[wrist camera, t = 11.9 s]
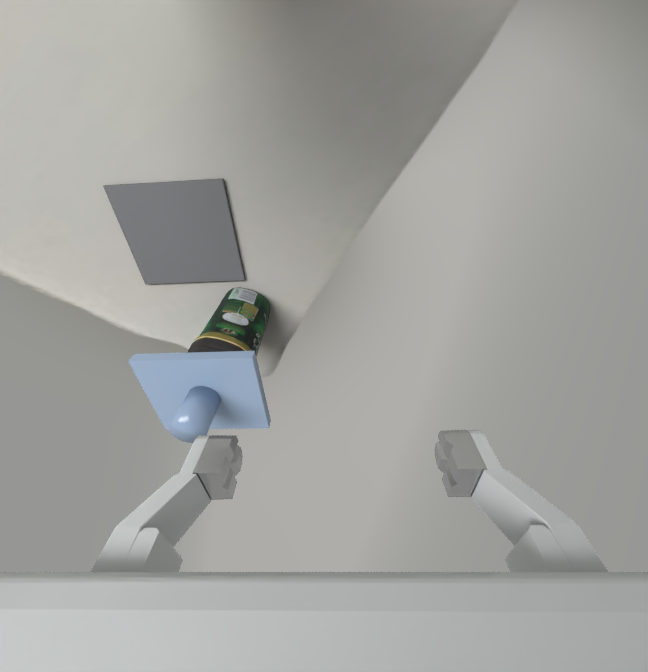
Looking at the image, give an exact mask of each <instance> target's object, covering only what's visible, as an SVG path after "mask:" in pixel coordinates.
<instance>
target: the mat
mask: <svg viewBox="0 0 648 672" xmlns="http://www.w3.org/2000/svg"><path fill="white" fill-rule="evenodd" d="M103 187H104V189H105V191H106V194H107V196H108V198H109V201H110V203H111V205H112V208H113V210H114V212H115V215H116V217H117V219H118V222H119V224H120V226H121V229H122V231H123V233H124V236H125V238H126V240H127V242H128V245H129V247H130V249H131V252H132V254H133V256H134V259H135V261H136V263H137V266H138V268H139V270H140V273H141V275H142V277H143V280H144V282H145V284H165V283H189V282H213V281H237V280H245V276H244V271H243V267H242V262H241V257H240V253H239V248H238V244H237V239H236V235H235V230H234V225H233V221H232V216H231V212H230V207H229V202H228V198H227V193H226V189H225V184H224V180H223V179H208V180H191V181H173V182H156V183H139V184H121V185H105V186H103Z"/></svg>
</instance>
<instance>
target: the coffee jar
mask: <svg viewBox="0 0 648 672" xmlns="http://www.w3.org/2000/svg"><path fill="white" fill-rule="evenodd" d="M269 312H270V305H269V302H268V301H267V299H266V298H265V297H263V296H262V295H260V294H259V293H257V292H254V291H252V290H249V289H245V288H233V289H231V290H230V291H228V293H227V294H226V295H225V297H224V298H223V300H222V301H221V303H220V305H219V306H218V308H217V310H216V311H215V313H214V314H213V316H212V318H211V319H210V321H209V322H208V324H207V325H206V327H205V328H204V330H203V331H202V333H201V334H200V336H199V337H198V338H197V339H196V340H195V341H194V342H193V343H192V345H191V347H190V348H189V350H188V352H187V353H191V352H227V351H255V354H256V356H257V353H258V350H259V347H260V343H261V340H262V337H263V334H264V331H265V328H266V324H267V321H268V317H269Z"/></svg>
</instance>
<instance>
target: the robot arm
mask: <svg viewBox="0 0 648 672" xmlns="http://www.w3.org/2000/svg"><path fill="white" fill-rule="evenodd" d="M438 438H439V442H438V443H436V447H435V458H436V462H437V465H438V468H439V469H440V470H441V471H442V472H443V473H444V475H443V478H442V480H443V483H444V486H445V489H446V492H447V495H448V496H449V497H471V499H472V500H473V501H474V502H475V503H476V504H477V505H478V506H479V507H480V508H481V510H482V511H483V512H484V513H485V514H486V515H487V516H488V517H489V518H490V519H491V520H492V522H493V523H494V524H495V525H496V526H497V527H498V528H499V529H500V530H501V531H502V532H503V533H504V534H505V536H506V537H507V538H508V539H509V540H510V541H511V542H512V543H513V544H514V545H515V546H514V547H513V549H512V550H511V551H510V553H509V554H508V555H507V557H506V559H505V560H506V562H507V565H508V567H509V569H510V572H179V569H180V565H181V563H182V558H181V556H180V555H179V554H178V552H177V551H176V550H175V549H174V548H173V547H174V545H175V544H176V543H177V542H178V541H179V540H180V538H181V537H182V536H183V535H184V533H185V532H186V531H187V530H188V529H189V527H190V526H191V525H192V524H193V522H194V521H195V520H196V519H197V518H198V516H199V515H200V514H201V513H202V512H203V510H204V509H205V508H206V507H207V505H208V504H209V503H210V502H211V500H216V499H232V498H233V494H234V491H235V487H236V484H237V481H236V479H235V476H236V475H237V474H238V473H239V472H240V469H241V465H242V450H241V447H239V446H238V445H237V443H238V439H237V437H236V436H198V437H197V438H196V439H195V441H194V443H193V445H192V447H191V449H190V451H189V454H188V456H187V458H186V460H185V462H184V464H183V467H182V469H181V471H180V473H179V474H175V475H174V476H173V477H172V478H171V479H169V480H168V481H167V482H166V483H165V484H164V485H163V486H162V487H161V488H159V489H158V490H157V491H156V492H155V493H154V494H153V495H151V496H150V497H149V498H148V499H147V500H146V501H145V502H143V503H142V504H141V505H140V506H139V507H138V508H137V509H135V510H134V511H133V512H132V513H131V514H130V515H129V516H127V518H125V519H124V520H123V521H122V522H121V523H120V524H118V525H117V526H116V528H115V529H114V531H113V533H112V535H111V536H110V538H109V540H108V542H107V543H106V545H105V547H104V549H103V551H102V552H101V554H100V556H99V558H98V559H97V561H96V563H95V565H94V566H93V568H92V570H91V572H0V672H648V572H608V570H607V569H606V567H605V566H604V564H603V563H602V562H601V560H600V558H599V557H598V555H597V554H596V552H595V551H594V549H593V548H592V546H591V545H590V543H589V541H588V540H587V538H586V537H585V535H584V534H583V532H582V531H581V529H580V528H579V526H578V525H577V524H576V523H575V522H574V521H572V520H571V519H570V518H569V517H568V516H566V515H565V514H564V513H562V512H561V511H560V510H559V509H557V508H556V507H555V506H553V505H552V504H551V503H550V502H548V501H547V500H546V499H544V498H543V497H542V496H541V495H539V494H538V493H537V492H536V491H534V490H533V489H532V488H530V487H529V486H528V485H527V484H525V483H524V482H523V481H521V480H520V479H519V478H518V477H516V476H515V475H514V474H512V473H511V472H510V471H509V470H507V469H505V470H504V469H503V468H502V466H501V464H500V463H499V461H498V459H497V457H496V455H495V453H494V452H493V450H492V448H491V446H490V444H489V442H488V441H487V439H486V437H485V435H484V433H483V432H482V431H481V430H453V431H440V432H439V435H438Z"/></svg>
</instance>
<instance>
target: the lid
mask: <svg viewBox="0 0 648 672" xmlns="http://www.w3.org/2000/svg"><path fill="white" fill-rule="evenodd" d="M128 362H129V364H130V366H131V368H132V369H133V371H134V373H135V375H136V377H137V378H138V380H139V382H140V384H141V386H142V388H143V389H144V391H145V393H146V395H147V397H148V398H149V400H150V402H151V404H152V406H153V407H154V409H155V411H156V413H157V415H158V416H159V418H160V420H161V422H162V424H163V426H164V427H165V429H166V430H170V432H171V434H172V435H173V436H174V437H176V438H177V439H179V440H181V441H185V442H190V443H194V441H195V439H196V438H197V437H198V436H206V435H207V432H208V430H209V429H242V428H243V429H247V428H269V425H270V421H271V420H270V415H269V411H268V407H267V402H266V398H265V393H264V389H263V385H262V380H261V376H260V371H259V367H258V363H257V358H256V354H255V351H227V352H191V353H157V354H134V355H133V356H132V357H131V358H130V360H129V361H128Z"/></svg>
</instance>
